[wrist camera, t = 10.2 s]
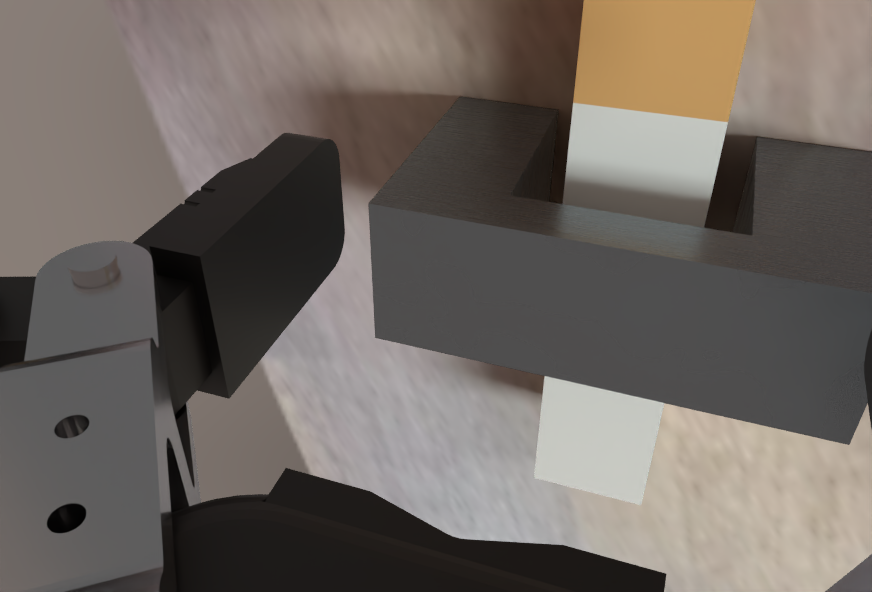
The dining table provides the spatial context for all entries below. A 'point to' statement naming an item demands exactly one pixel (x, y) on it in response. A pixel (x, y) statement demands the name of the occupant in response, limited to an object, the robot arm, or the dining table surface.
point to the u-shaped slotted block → (633, 275)
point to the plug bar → (638, 192)
